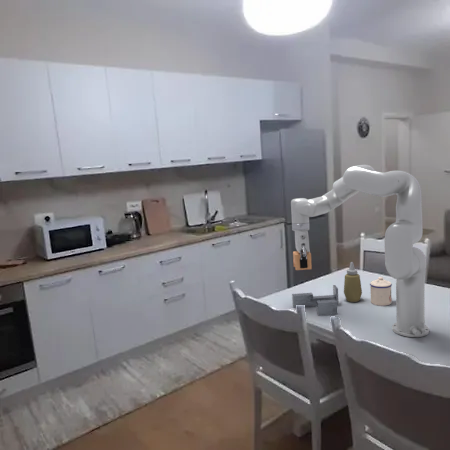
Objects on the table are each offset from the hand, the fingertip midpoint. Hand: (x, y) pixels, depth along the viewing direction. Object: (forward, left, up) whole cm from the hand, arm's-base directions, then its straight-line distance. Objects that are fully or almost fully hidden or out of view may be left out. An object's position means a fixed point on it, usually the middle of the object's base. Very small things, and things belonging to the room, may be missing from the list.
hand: (302, 265), depth 185 cm
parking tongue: (-11, -8, -19) cm, 23 cm away
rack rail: (+3, -5, -19) cm, 20 cm away
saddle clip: (0, 0, -1) cm, 1 cm away
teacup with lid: (-1, -34, -19) cm, 39 cm away
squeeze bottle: (+3, -23, -19) cm, 30 cm away
